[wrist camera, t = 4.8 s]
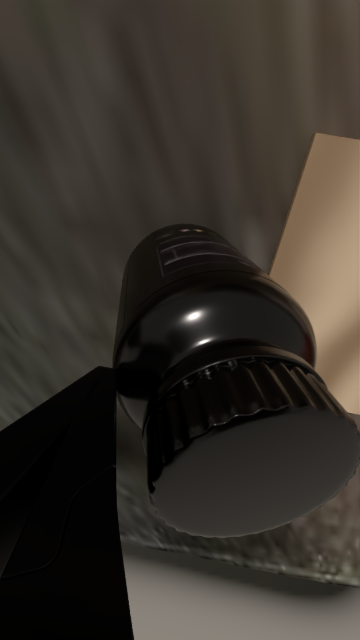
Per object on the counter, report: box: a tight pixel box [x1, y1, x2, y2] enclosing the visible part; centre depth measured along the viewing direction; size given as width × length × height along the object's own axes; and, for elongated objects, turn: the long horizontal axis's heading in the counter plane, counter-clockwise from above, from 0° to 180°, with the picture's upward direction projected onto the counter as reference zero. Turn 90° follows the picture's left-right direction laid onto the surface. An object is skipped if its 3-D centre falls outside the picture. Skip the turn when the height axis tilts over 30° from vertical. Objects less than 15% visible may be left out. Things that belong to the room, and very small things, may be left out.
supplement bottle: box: [112, 224, 360, 538], centre depth 11 cm, size 7×7×12 cm
